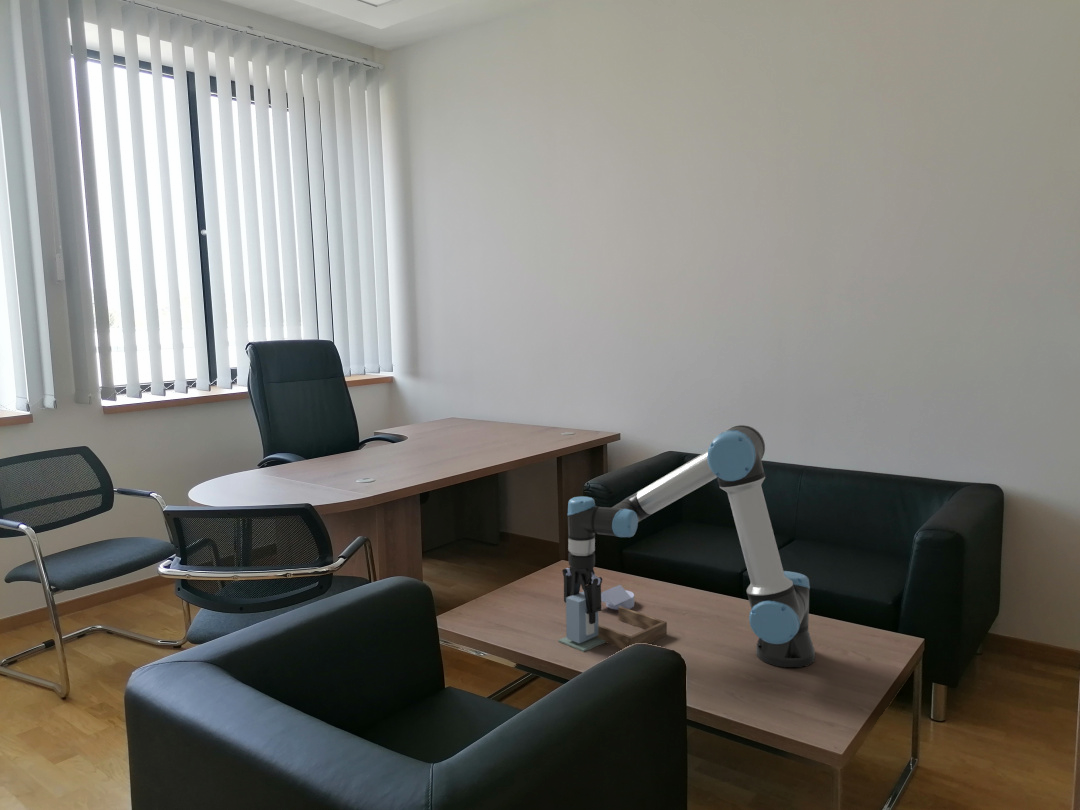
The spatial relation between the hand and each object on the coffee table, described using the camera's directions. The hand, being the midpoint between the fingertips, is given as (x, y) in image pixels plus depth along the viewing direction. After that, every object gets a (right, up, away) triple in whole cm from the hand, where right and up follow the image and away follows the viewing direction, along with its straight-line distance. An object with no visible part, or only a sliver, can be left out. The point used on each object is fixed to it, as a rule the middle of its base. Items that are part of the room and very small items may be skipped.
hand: (582, 630), depth 226 cm
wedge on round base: (+12, 0, +27) cm, 29 cm away
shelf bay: (+12, -2, +5) cm, 13 cm away
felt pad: (0, -3, 0) cm, 3 cm away
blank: (0, -2, 0) cm, 2 cm away
